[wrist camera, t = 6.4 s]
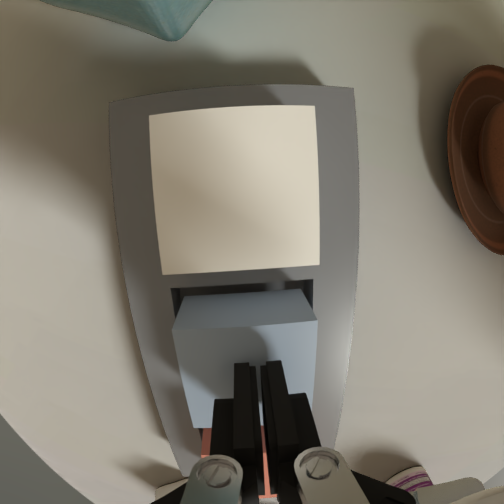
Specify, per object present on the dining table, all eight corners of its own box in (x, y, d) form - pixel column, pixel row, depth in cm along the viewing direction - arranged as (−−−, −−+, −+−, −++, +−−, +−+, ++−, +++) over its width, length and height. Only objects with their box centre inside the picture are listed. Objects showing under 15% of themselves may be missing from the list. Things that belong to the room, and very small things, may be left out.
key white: (295, 120, 11) (314, 105, 8) (300, 243, 13) (319, 264, 10) (169, 128, 11) (149, 115, 8) (178, 251, 12) (162, 275, 9)
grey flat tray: (335, 99, 13) (353, 88, 11) (322, 442, 19) (330, 465, 16) (127, 111, 13) (109, 102, 10) (185, 451, 18) (182, 476, 16)
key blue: (300, 288, 13) (318, 320, 10) (298, 379, 14) (310, 419, 11) (184, 296, 13) (171, 330, 10) (199, 385, 14) (193, 427, 11)
